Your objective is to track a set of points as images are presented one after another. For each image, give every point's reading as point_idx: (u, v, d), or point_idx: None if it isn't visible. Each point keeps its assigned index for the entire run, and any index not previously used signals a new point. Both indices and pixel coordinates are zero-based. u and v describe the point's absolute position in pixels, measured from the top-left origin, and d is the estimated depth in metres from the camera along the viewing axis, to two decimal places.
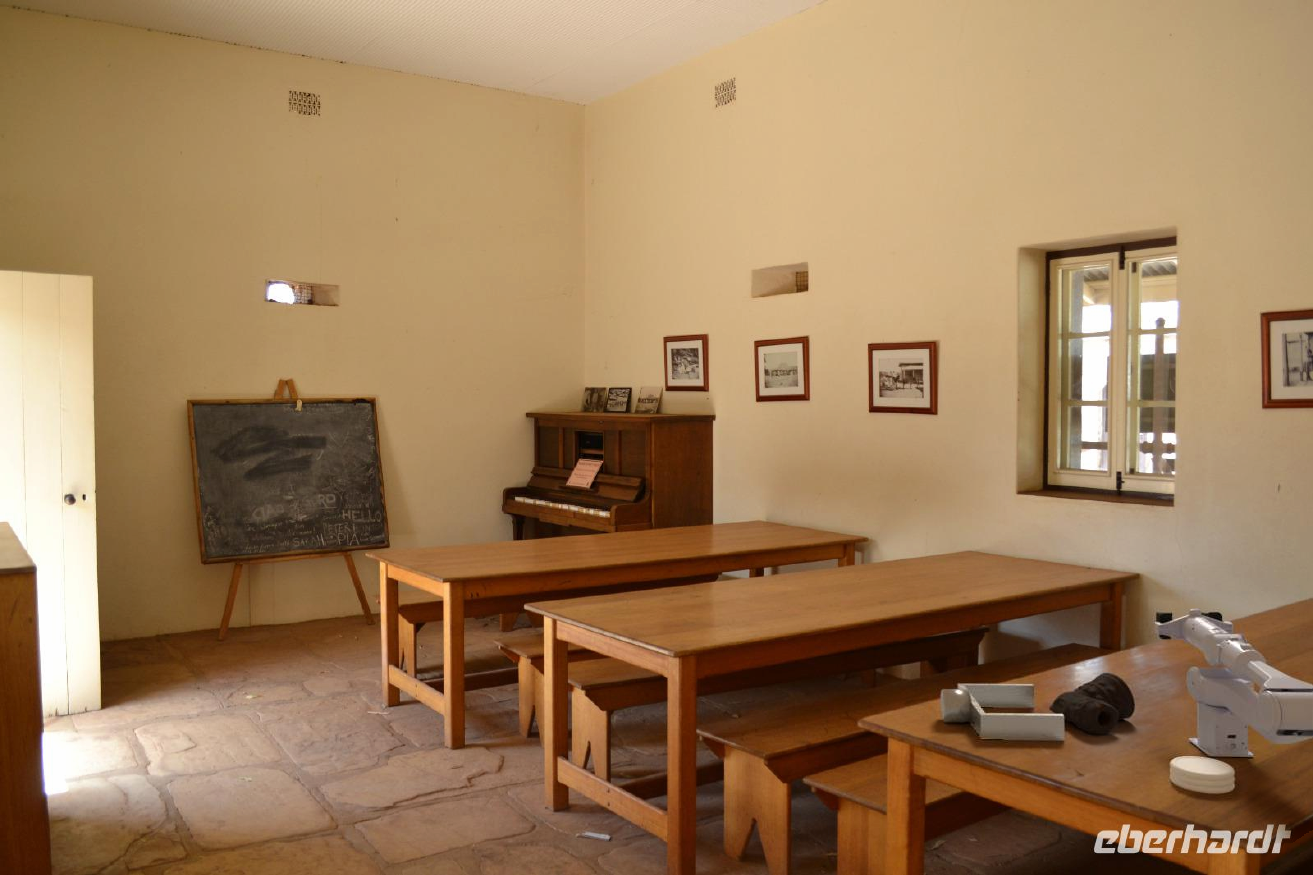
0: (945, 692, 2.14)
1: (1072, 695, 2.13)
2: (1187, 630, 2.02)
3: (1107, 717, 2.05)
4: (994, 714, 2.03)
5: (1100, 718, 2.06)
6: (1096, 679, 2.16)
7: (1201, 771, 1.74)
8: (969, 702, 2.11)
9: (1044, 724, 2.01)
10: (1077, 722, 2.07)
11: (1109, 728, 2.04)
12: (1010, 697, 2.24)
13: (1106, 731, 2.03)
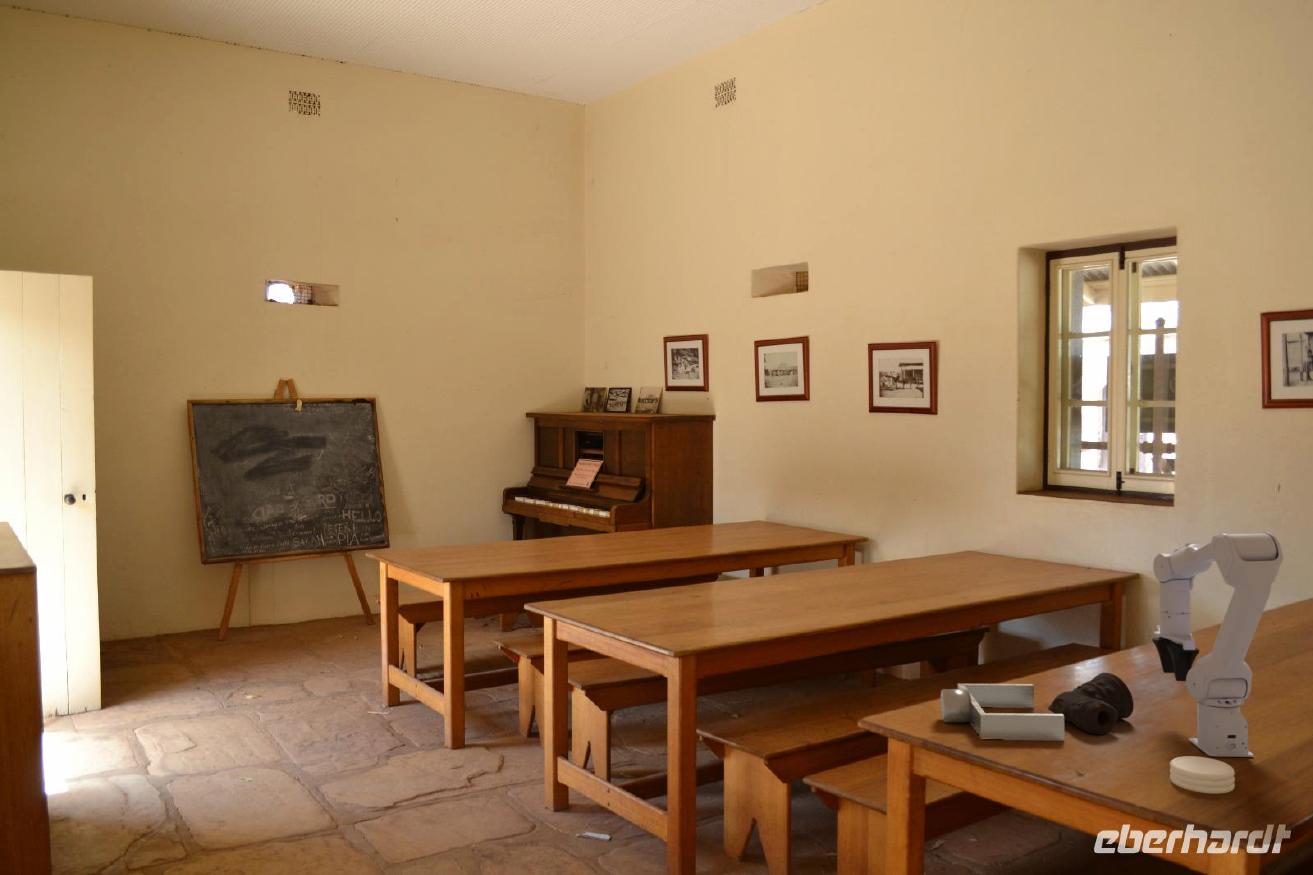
0: (945, 692, 2.14)
1: (1071, 695, 2.13)
2: (1177, 621, 2.07)
3: (1107, 717, 2.05)
4: (994, 714, 2.03)
5: (1099, 718, 2.06)
6: (1095, 679, 2.16)
7: (1201, 771, 1.74)
8: (969, 702, 2.11)
9: (1044, 724, 2.01)
10: (1076, 722, 2.07)
11: (1108, 728, 2.04)
12: (1010, 697, 2.24)
13: (1106, 731, 2.04)
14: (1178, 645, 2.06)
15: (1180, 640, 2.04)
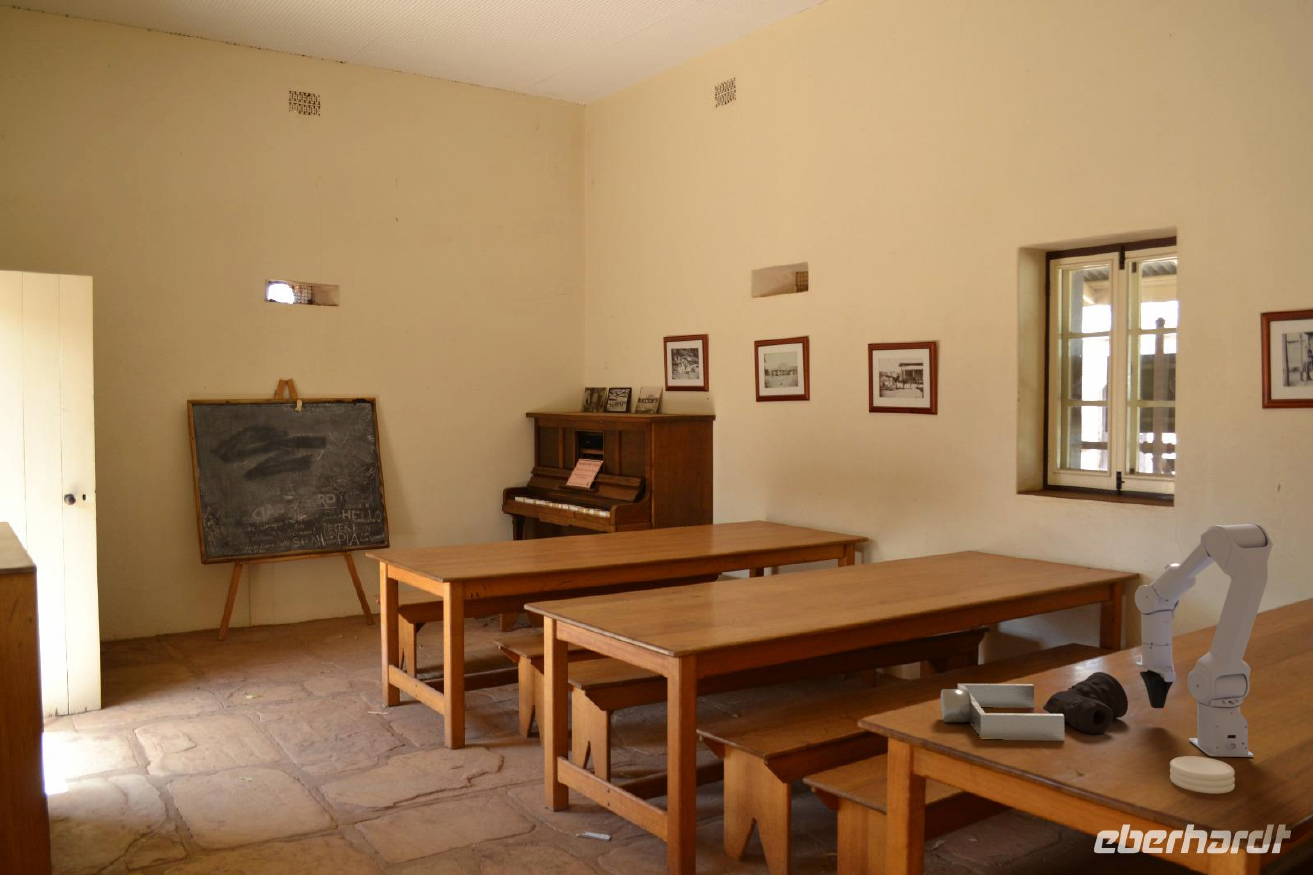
0: (945, 692, 2.14)
1: (1066, 694, 2.14)
2: (1158, 652, 2.07)
3: (1102, 716, 2.06)
4: (994, 714, 2.03)
5: (1094, 717, 2.07)
6: (1089, 678, 2.16)
7: (1201, 771, 1.74)
8: (969, 702, 2.11)
9: (1044, 724, 2.01)
10: (1072, 721, 2.07)
11: (1104, 727, 2.04)
12: (1010, 697, 2.24)
13: (1101, 731, 2.04)
14: (1154, 673, 2.09)
15: (1161, 672, 2.05)
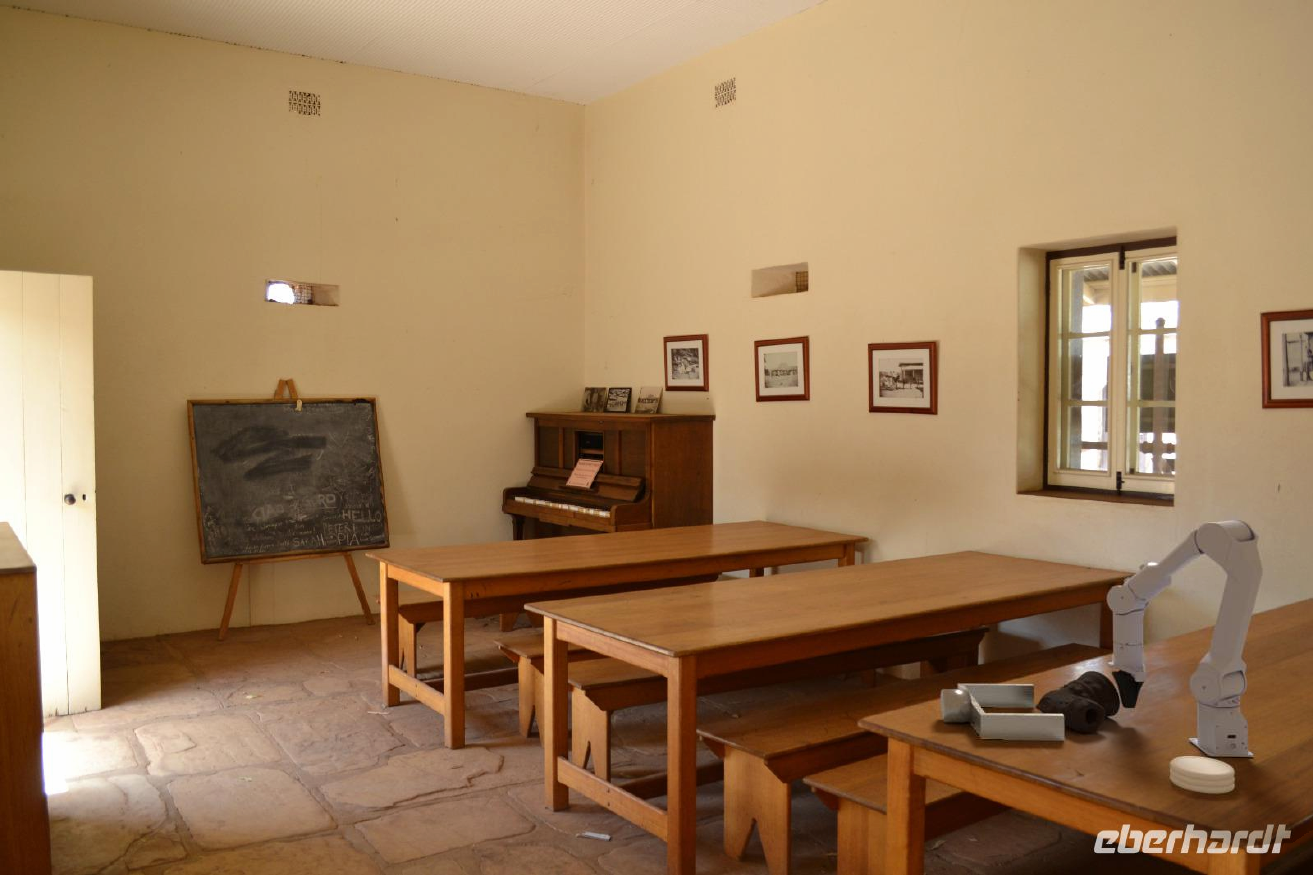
0: (945, 692, 2.14)
1: (1058, 693, 2.14)
2: (1129, 652, 2.08)
3: (1094, 715, 2.06)
4: (994, 714, 2.03)
5: (1087, 716, 2.08)
6: (1081, 677, 2.17)
7: (1201, 771, 1.74)
8: (969, 702, 2.11)
9: (1044, 724, 2.01)
10: (1064, 720, 2.08)
11: (1096, 726, 2.05)
12: (1010, 697, 2.24)
13: (1093, 729, 2.05)
14: (1125, 673, 2.10)
15: (1132, 672, 2.05)
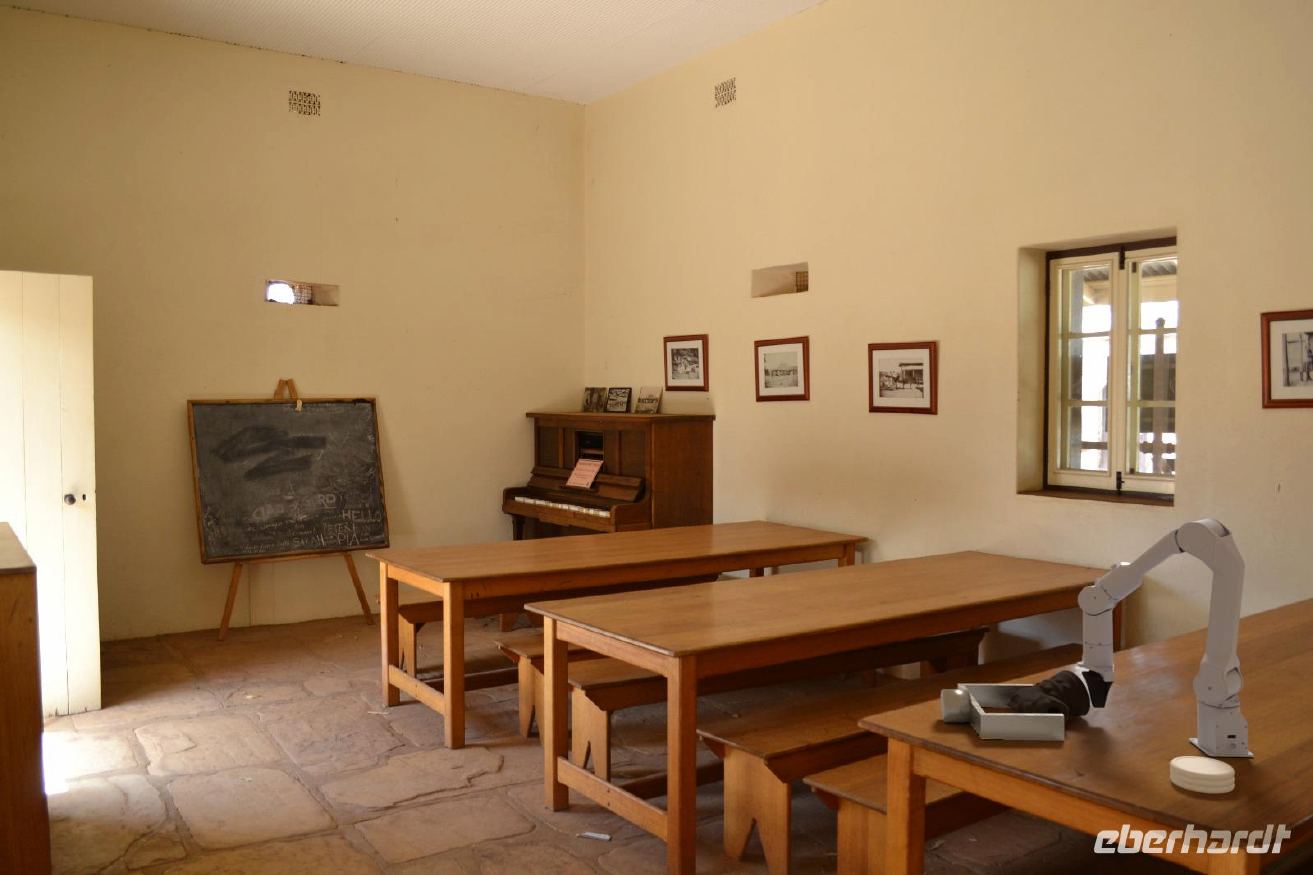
0: (945, 692, 2.14)
1: (1028, 691, 2.16)
2: (1099, 652, 2.09)
3: (1058, 713, 2.08)
4: (994, 714, 2.03)
5: None
6: (1054, 676, 2.18)
7: (1201, 771, 1.74)
8: (969, 702, 2.11)
9: (1044, 724, 2.01)
10: None
11: None
12: (1010, 697, 2.24)
13: None
14: (1095, 672, 2.11)
15: (1101, 671, 2.06)
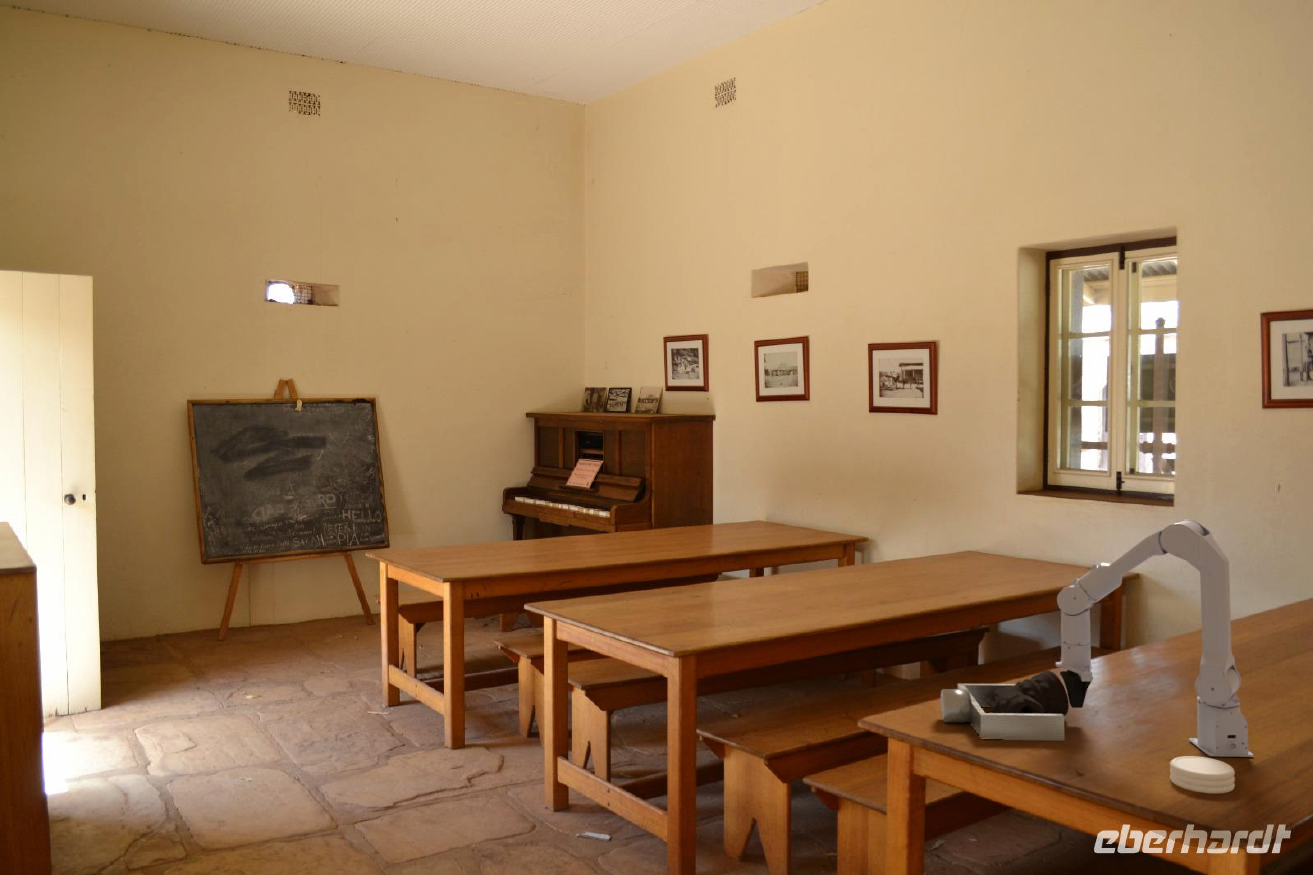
0: (945, 692, 2.14)
1: (1007, 690, 2.17)
2: (1076, 652, 2.09)
3: (1032, 713, 2.08)
4: (994, 714, 2.03)
5: (1027, 713, 2.10)
6: (1035, 676, 2.19)
7: (1201, 771, 1.74)
8: (969, 702, 2.11)
9: (1044, 724, 2.01)
10: None
11: None
12: None
13: None
14: (1073, 672, 2.11)
15: (1078, 671, 2.06)
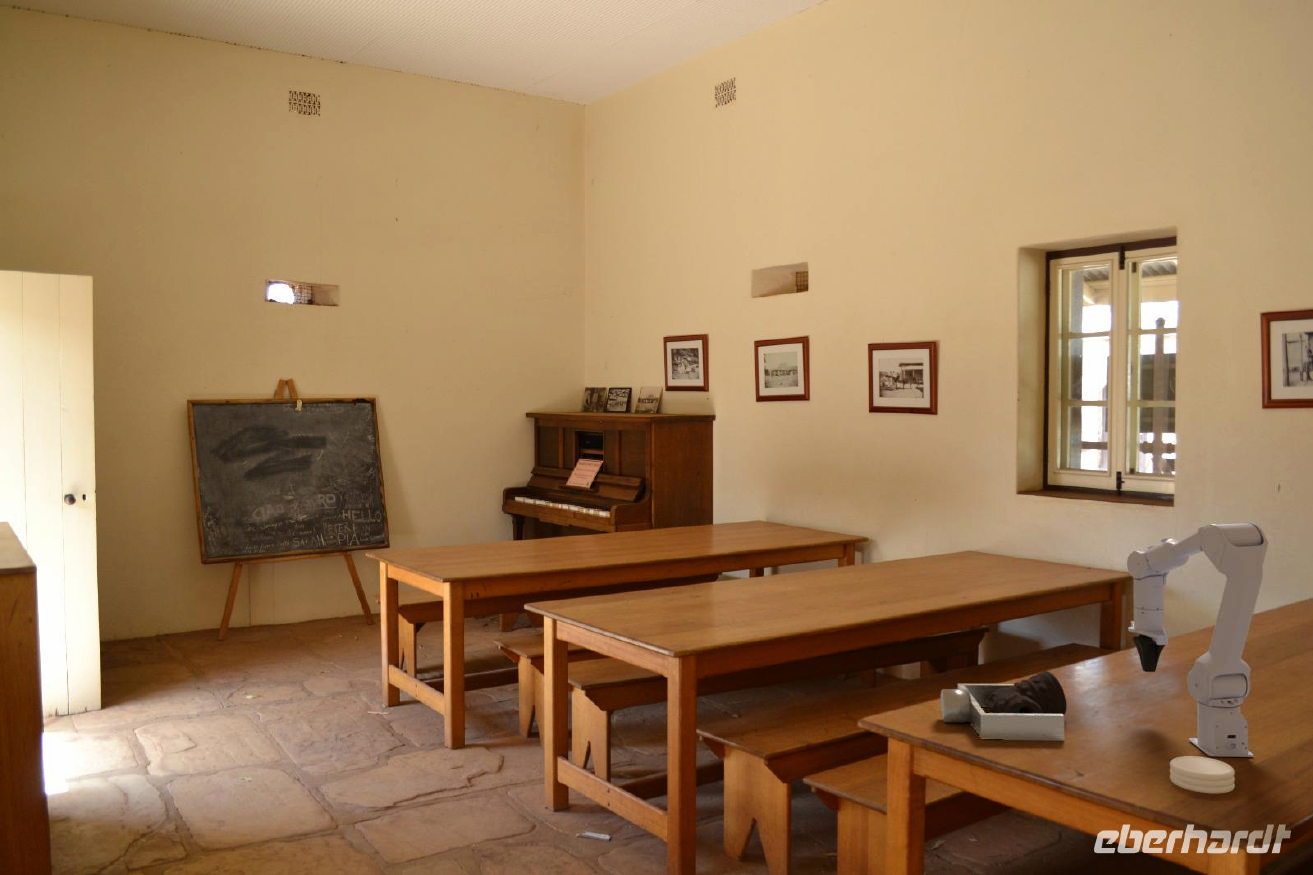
0: (945, 692, 2.14)
1: (1005, 691, 2.18)
2: (1150, 617, 2.11)
3: (1030, 713, 2.09)
4: (994, 714, 2.03)
5: None
6: (1033, 676, 2.19)
7: (1201, 771, 1.74)
8: (969, 702, 2.11)
9: (1044, 724, 2.01)
10: None
11: None
12: None
13: None
14: (1146, 637, 2.13)
15: (1153, 635, 2.09)
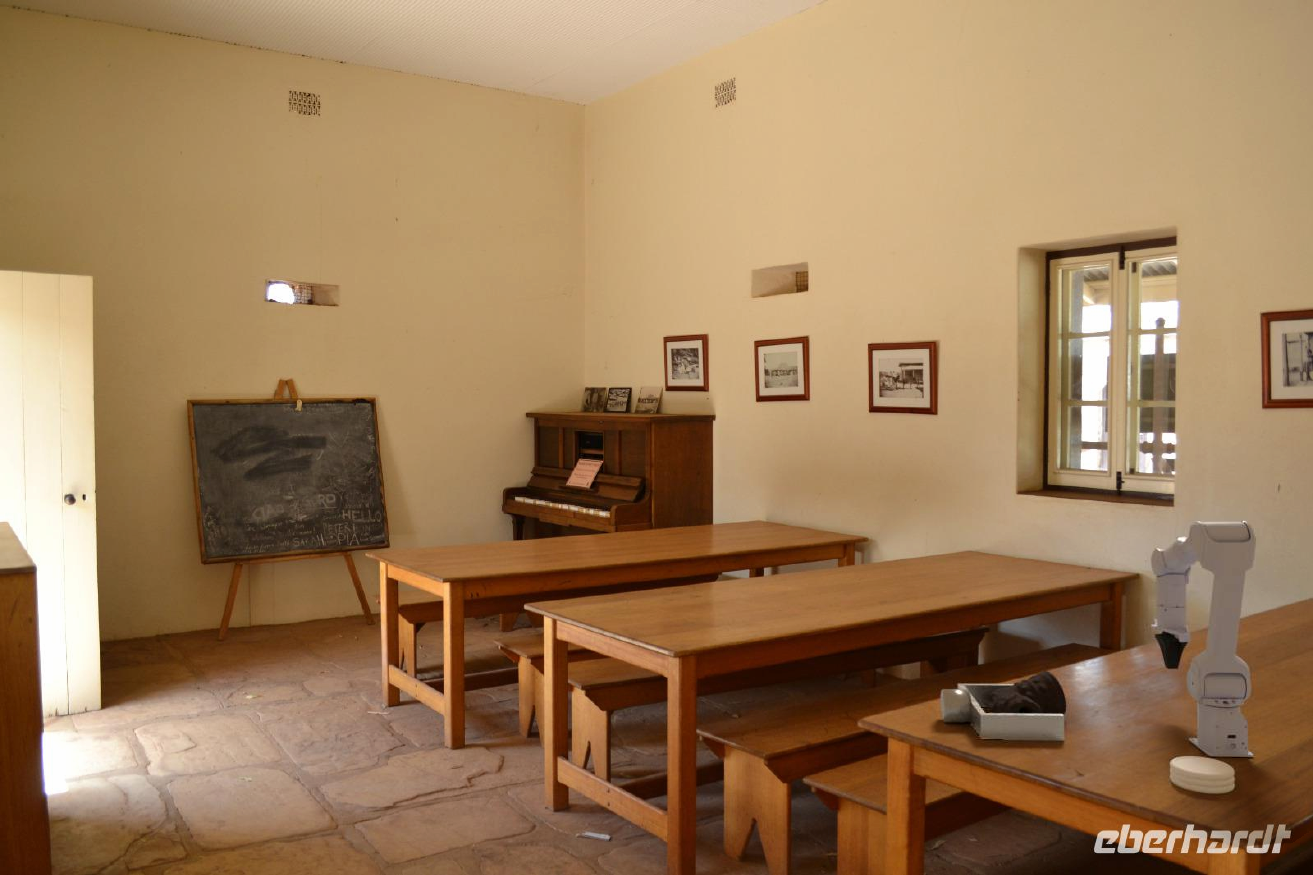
0: (945, 692, 2.14)
1: (1005, 691, 2.18)
2: (1173, 614, 2.14)
3: (1030, 713, 2.09)
4: (994, 714, 2.03)
5: None
6: (1033, 676, 2.19)
7: (1202, 771, 1.74)
8: (969, 702, 2.11)
9: (1044, 724, 2.01)
10: None
11: None
12: None
13: None
14: (1169, 634, 2.16)
15: (1176, 632, 2.11)
